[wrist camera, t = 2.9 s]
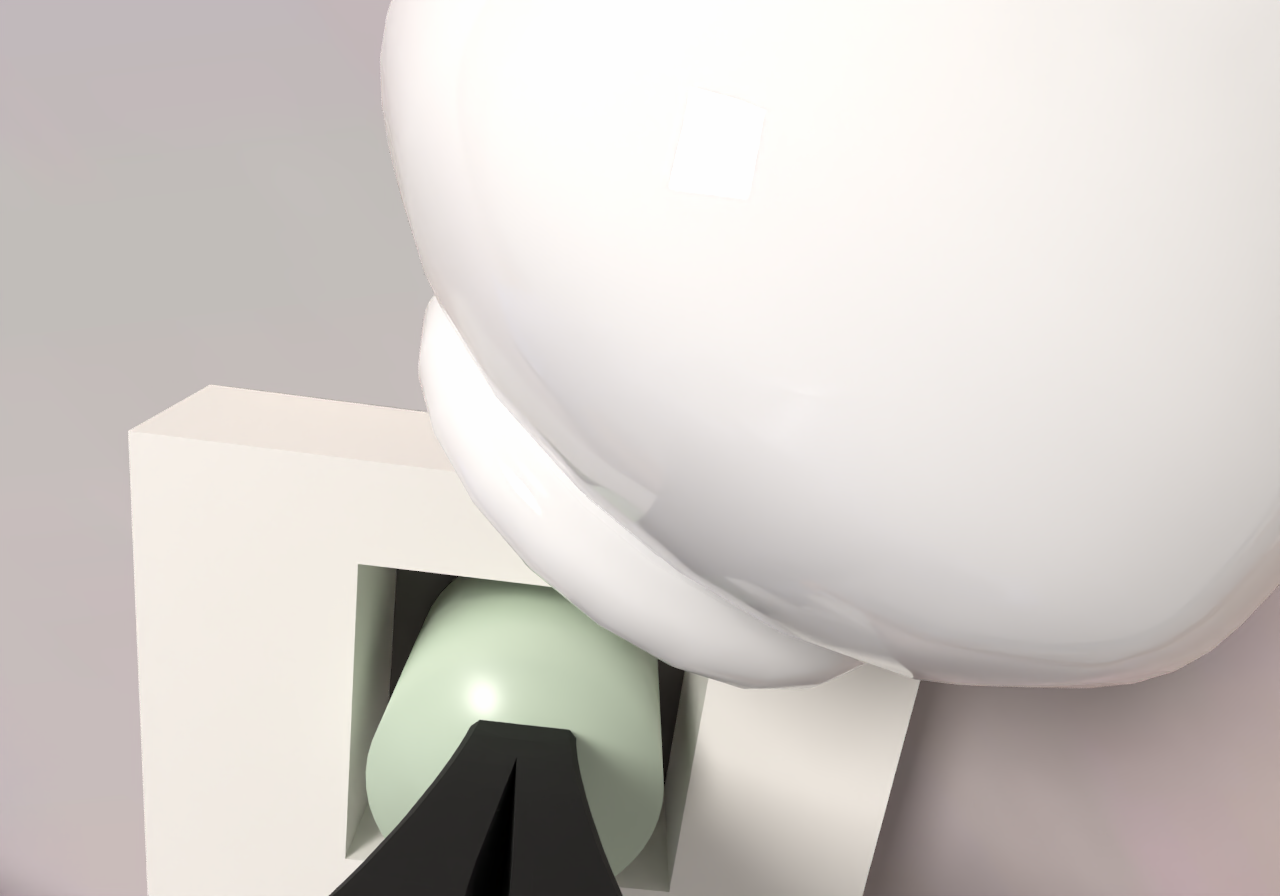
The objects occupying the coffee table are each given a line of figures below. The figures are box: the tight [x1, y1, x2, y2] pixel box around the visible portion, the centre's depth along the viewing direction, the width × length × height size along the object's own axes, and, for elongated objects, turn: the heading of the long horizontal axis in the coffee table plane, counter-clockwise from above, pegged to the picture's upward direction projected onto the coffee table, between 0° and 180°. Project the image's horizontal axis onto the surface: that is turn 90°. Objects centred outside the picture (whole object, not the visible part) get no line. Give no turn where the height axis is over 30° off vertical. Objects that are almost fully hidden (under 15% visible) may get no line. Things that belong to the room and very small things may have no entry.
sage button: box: [366, 576, 664, 876], centre depth 14 cm, size 4×4×3 cm
